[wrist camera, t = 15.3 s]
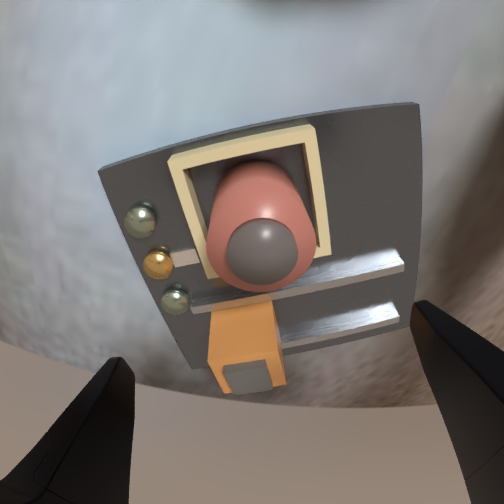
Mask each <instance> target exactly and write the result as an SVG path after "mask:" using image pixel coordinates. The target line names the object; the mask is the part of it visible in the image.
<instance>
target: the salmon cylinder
mask: <svg viewBox="0 0 504 504" xmlns="http://www.w3.org/2000/svg"><path fill="white" fill-rule="evenodd" d="M206 250H207V256H208V260H209V262H210V264H211V266H212V268H213V269H214V271H215V272H216V273H217V275H218V276H219V277H221V278H222V279H223V280H224V281H225V282H227V283H228V284H230V285H232V286H234V287H237V288H239V289H242V290H246V291H252V292H267V291H273V290H277V289H280V288H283V287H285V286H287V285H289V284H291V283H293V282H294V281H296V280H297V279H298V278H300V277H301V276H302V275H303V274H304V273H305V272H306V270H307V269H308V268H309V266H310V264H311V263H312V261H313V258H314V255H315V251H316V235H315V231H314V228H313V226H312V223H311V221H310V218H309V216H308V214H307V211H306V209H305V207H304V204H303V202H302V200H301V197H300V195H299V193H298V190H297V188H296V186H295V183H294V181H293V180H292V178H291V177H290V175H289V174H288V173H287V172H286V171H285V170H284V169H282V168H281V167H279V166H277V165H276V164H273V163H271V162H267V161H260V160H253V161H247V162H243V163H240V164H238V165H236V166H234V167H232V168H231V169H230V170H228V171H227V172H226V173H225V174H224V175H223V177H222V178H221V179H220V181H219V183H218V185H217V188H216V191H215V196H214V202H213V207H212V213H211V218H210V224H209V230H208V236H207V242H206Z"/></svg>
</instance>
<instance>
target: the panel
mask: <svg viewBox="0 0 504 504" xmlns="http://www.w3.org/2000/svg"><path fill="white" fill-rule="evenodd" d="M308 124H310V125H312V126H313V127H314V128H315V131H316V137H317V143H318V150H319V156H320V163H321V170H322V177H323V184H324V192H325V200H326V208H327V216H328V225H329V234H330V244H331V255H327V256H322V257H317V258H313V261H312V263H311V264H310V266H309V268H308V269H307V270H306V272H305V273H304V274H303V275H302V276H301V277H300V278H298V279H297V280H296V281H294V282H293V283H291V284H289V285H287V286H285V287H283V288H280V289H277V290H273V291H267V292H252V291H246V290H242V289H239V288H237V287H234V286H232V285H230V284H228V283H227V282H225V281H224V280H223V279H222V278H221V277H217V278H212V279H208V278H207V275H206V273H205V270H204V267H203V265H202V262H201V259H200V256H199V253H198V251H197V248H196V245H195V242H194V239H193V237H192V234H191V231H190V228H189V225H188V222H187V219H186V217H185V214H184V211H183V208H182V205H181V202H180V199H179V196H178V193H177V190H176V187H175V184H174V181H173V178H172V175H171V172H170V169H169V166H168V162H167V161H168V160H169V158H170V157H171V156H172V155H174V154H177V153H181V152H185V151H188V150H192V149H196V148H200V147H204V146H208V145H212V144H216V143H220V142H224V141H228V140H232V139H237V138H241V137H246V136H250V135H255V134H260V133H265V132H270V131H275V130H280V129H285V128H291V127H296V126H302V125H308ZM253 160H260V161H267V162H271V163H273V164H276V165H277V166H279V167H281V168H282V169H284V170H285V171H286V172H287V173H288V174H289V175H290V177H291V178H292V180H293V181H294V183H295V186H296V188H297V190H298V193H299V195H300V197H301V200H302V202H303V204H304V207H305V209H306V211H307V214H308V216H309V218H310V221H311V223H312V226H313V228H314V231H315V226H314V219H313V212H312V205H311V198H310V191H309V185H308V179H307V172H306V166H305V160H304V154H303V149H302V143H299V144H294V145H289V146H283V147H278V148H273V149H268V150H263V151H259V152H254V153H249V154H245V155H240V156H236V157H231V158H227V159H223V160H219V161H214V162H210V163H206V164H202V165H198V166H194V167H191V168H188V171H189V174H190V177H191V180H192V184H193V187H194V190H195V193H196V196H197V200H198V203H199V206H200V209H201V212H202V215H203V218H204V222H205V225H206V228H207V231H208V230H209V224H210V218H211V213H212V207H213V202H214V196H215V191H216V188H217V185H218V183H219V181H220V179H221V178H222V177H223V175H224V174H225V173H226V172H227V171H228V170H230V169H231V168H232V167H234V166H236V165H238V164H240V163H243V162H247V161H253ZM98 174H99V176H100V179H101V181H102V184H103V187H104V189H105V192H106V194H107V197H108V199H109V202H110V204H111V206H112V209H113V211H114V214H115V216H116V218H117V221H118V223H119V225H120V228H121V230H122V232H123V235H124V237H125V239H126V241H127V243H128V246H129V248H130V250H131V252H132V254H133V257H134V259H135V261H136V263H137V265H138V267H139V269H140V272H141V274H142V276H143V278H144V280H145V282H146V284H147V286H148V288H149V290H150V292H151V294H152V296H153V298H154V300H155V302H156V304H157V306H158V308H159V310H160V312H161V314H162V315H163V317H164V319H165V321H166V323H167V325H168V327H169V329H170V331H171V332H172V334H173V336H174V338H175V340H176V342H177V343H178V345H179V347H180V349H181V351H182V352H183V354H184V356H185V358H186V359H187V361H188V363H189V365H190V366H191V368H192V369H198V368H206V367H210V366H209V364H208V362H207V360H208V347H209V335H210V323H211V312H212V311H216V310H222V309H227V308H233V307H239V306H244V305H249V304H255V303H260V302H265V301H271V300H272V303H273V307H274V311H275V315H276V320H277V324H278V328H279V332H280V338H281V346H282V353H283V356H284V355H289V354H295V353H300V352H305V351H310V350H315V349H320V348H324V347H329V346H333V345H338V344H342V343H347V342H351V341H355V340H359V339H363V338H367V337H371V336H375V335H379V334H383V333H387V332H390V331H394V330H398V329H401V328H405V327H408V326H410V317H411V310H412V305H413V303H414V296H415V288H416V280H417V270H418V260H419V249H420V235H421V217H422V139H421V121H420V108H419V104H417V103H414V102H406V103H393V104H382V105H372V106H362V107H354V108H346V109H338V110H331V111H324V112H318V113H311V114H305V115H299V116H293V117H288V118H282V119H277V120H272V121H267V122H262V123H257V124H252V125H248V126H243V127H239V128H234V129H230V130H226V131H221V132H217V133H213V134H209V135H205V136H201V137H198V138H194V139H190V140H186V141H183V142H179V143H176V144H172V145H169V146H165V147H162V148H159V149H155V150H152V151H149V152H146V153H142V154H139V155H136V156H133V157H130V158H127V159H124V160H121V161H118V162H115V163H112V164H109V165H107V166H104V167H102V168H101V169H100V170H99V171H98ZM315 235H316V233H315Z"/></svg>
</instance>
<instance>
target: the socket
mask: <svg viewBox="0 0 504 504" xmlns="http://www.w3.org/2000/svg"><path fill="white" fill-rule="evenodd" d="M299 143H302V149H303V154H304V160H305V166H306V172H307V179H308V185H309V191H310V198H311V205H312V212H313V219H314V226H315V233H316V251H315V255H314V258H317V257H322V256H327V255H331V244H330V234H329V225H328V216H327V208H326V200H325V192H324V184H323V177H322V170H321V163H320V156H319V150H318V143H317V137H316V131H315V128H314V127H313V126H312V125H310V124H308V125H302V126H296V127H291V128H285V129H280V130H275V131H270V132H265V133H260V134H255V135H250V136H246V137H241V138H237V139H232V140H228V141H224V142H220V143H216V144H212V145H208V146H204V147H200V148H196V149H192V150H188V151H185V152H181V153H177V154H174V155H172V156H171V157H170V158H169V160H168V161H167V162H168V166H169V169H170V172H171V175H172V178H173V181H174V184H175V187H176V190H177V193H178V196H179V199H180V202H181V205H182V208H183V211H184V214H185V217H186V219H187V222H188V225H189V228H190V231H191V234H192V237H193V239H194V242H195V245H196V248H197V251H198V253H199V256H200V259H201V262H202V265H203V267H204V270H205V273H206V275H207V278H208V279H212V278H217V277H219V276H218V275H217V273H216V272H215V271H214V269H213V268H212V266H211V264H210V262H209V260H208V256H207V250H206V242H207V236H208V231H207V228H206V225H205V222H204V218H203V215H202V212H201V209H200V206H199V203H198V200H197V196H196V193H195V190H194V187H193V184H192V180H191V177H190V174H189V171H188V168H191V167H194V166H198V165H202V164H206V163H210V162H214V161H219V160H223V159H227V158H231V157H236V156H240V155H245V154H249V153H254V152H259V151H263V150H268V149H273V148H278V147H283V146H289V145H294V144H299Z"/></svg>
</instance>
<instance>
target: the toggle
mask: <svg viewBox="0 0 504 504" xmlns="http://www.w3.org/2000/svg"><path fill="white" fill-rule="evenodd" d="M207 362H208V364H209V366H210V367H211V369H212V371H213V373H214V375H215V377H216V379H217V381H218V383H219V385H220V386H221V388H222V390H223V392H224V394H226V393H233V394H234V395H242V394H249V393H256V392H263V391H269V390H273V387H275V386H281V385H287V384H286V376H285V369H284V361H283V353H282V346H281V338H280V332H279V328H278V324H277V320H276V315H275V311H274V307H273V303H272V300H271V301H265V302H260V303H255V304H249V305H244V306H239V307H233V308H227V309H222V310H216V311H212V312H211V323H210V335H209V347H208V360H207Z"/></svg>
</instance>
